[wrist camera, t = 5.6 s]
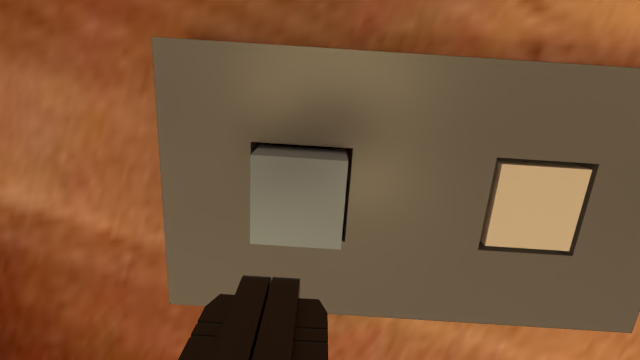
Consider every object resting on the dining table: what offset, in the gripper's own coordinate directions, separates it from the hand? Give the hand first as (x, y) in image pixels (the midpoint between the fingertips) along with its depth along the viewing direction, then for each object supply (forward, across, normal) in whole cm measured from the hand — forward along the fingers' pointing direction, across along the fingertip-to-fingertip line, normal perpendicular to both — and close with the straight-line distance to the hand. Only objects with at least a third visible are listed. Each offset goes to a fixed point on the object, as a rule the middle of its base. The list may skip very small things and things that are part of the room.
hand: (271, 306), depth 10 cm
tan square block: (+11, -12, 0) cm, 17 cm away
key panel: (+13, -6, 0) cm, 14 cm away
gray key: (+10, 0, 0) cm, 10 cm away
